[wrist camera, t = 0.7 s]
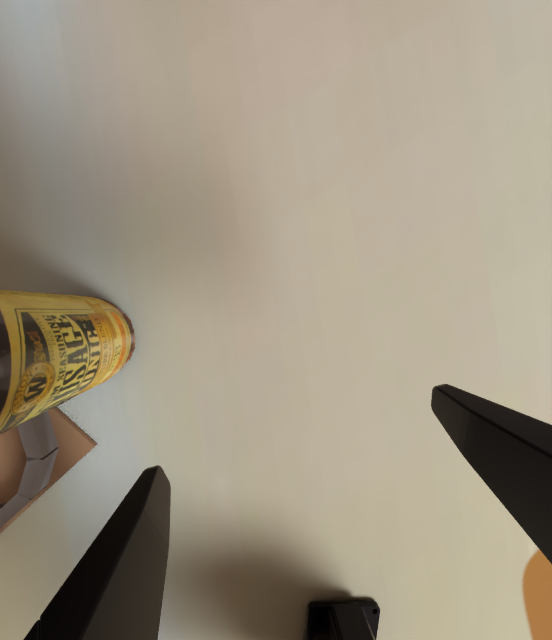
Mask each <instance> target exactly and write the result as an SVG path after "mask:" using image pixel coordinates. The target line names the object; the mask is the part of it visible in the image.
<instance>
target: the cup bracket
mask: <svg viewBox="0 0 552 640" xmlns="http://www.w3.org/2000/svg"><path fill="white" fill-rule="evenodd" d="M96 445H97V443H96V442H95V441H94V440H93V439H91V438H90V437H89V436H88V435H87V434H86V433H85V432H84V431H83V430H81V429H80V428H79V427H78V426H77V425H76V424H75V423H74V422H73V421H72V420H70V419H69V418H68V417H67V416H66V415H65V414H64V413H63V412H62V411H60V410H59V409H58V408H57V407H56V406H55V407H54V408H52V409H49V410H47V411H45V412H43V413H41V414H40V415H38V416H35V417H33V418H32V419H30V420H27V421H25V422H23V423H21V424H19V425H17V426H15V427H13V428H11V429H10V430H8V431H6V432H4V433H2V434H0V533H1V532H2V531H3V530H4V529H5V528H6V527H7V526H8V525H9V524H10V523H11V522H13V521H14V520H15V519H16V518H17V517H18V516H19V515H20V514H21V513H22V512H24V511H25V510H26V509H27V508H28V507H29V506H30V505H31V504H32V503H33V502H34V501H36V500H37V499H38V498H39V497H40V496H41V495H42V494H43V493H44V492H45V491H46V490H48V489H49V488H50V487H51V486H52V485H53V484H54V483H55V482H56V481H57V480H59V479H60V478H61V477H62V476H63V475H64V474H65V473H66V472H67V471H68V470H69V469H71V468H72V467H73V466H74V465H75V464H76V463H77V462H78V461H79V460H80V459H82V458H83V457H84V456H85V455H86V454H87V453H88V452H89V451H90V450H91V449H92V448H94V447H95V446H96Z"/></svg>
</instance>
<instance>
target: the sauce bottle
mask: <svg viewBox="0 0 552 640" xmlns="http://www.w3.org/2000/svg"><path fill="white" fill-rule="evenodd" d="M134 349H135V336H134V330H133V328H132V324H131V320H130V319H129V318H128V317H127V316H126V315H125V314H124V313H123V312H122V311H121V310H120V309H118V308H117V307H116V306H114V305H113V304H111V303H109V302H107V301H105V300H101V299H97V298H94V297H88V296H76V295H62V294H48V293H34V292H22V291H11V290H0V434H2V433H4V432H6V431H8V430H10V429H11V428H13V427H15V426H17V425H19V424H21V423H23V422H25V421H27V420H30V419H32V418H33V417H35V416H38V415H40V414H41V413H43V412H45V411H47V410H49V409H52V408H54V407H55V406H58V405H60V404H62V403H63V402H65V401H67V400H69V399H71V398H73V397H75V396H77V395H78V394H80V393H82V392H84V391H86V390H88V389H90V388H92V387H94V386H96V385H98V384H101V383H103V382H105V381H106V380H108V379H109V378H111V377H112V376H114V375H115V374H116V373H117V372H118V371H119V370H120V369H121V368H123V366H124V365H125V364H126V363H127V361H129V359H130V358H131V356H132V352H133V351H134Z"/></svg>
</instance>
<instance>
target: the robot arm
mask: <svg viewBox="0 0 552 640" xmlns="http://www.w3.org/2000/svg"><path fill="white" fill-rule="evenodd" d="M431 407H432V410H433V412H434V414H435V415H436V417H437V418H438V420H439V421H440V423H441V424H442V426H443V427H444V429H445V430H446V432H447V433H448V435H449V436H450V437H451V439H452V440H453V442H454V443H455V445H456V446H457V448H458V449H459V451H460V452H461V453H462V455H463V456H464V457H465V459H466V460H467V461H468V462H469V464H470V465H471V466H472V467H473V469H474V470H475V471H476V472H477V473H478V475H479V476H480V477H481V478H482V479H483V481H484V482H485V483H486V484H487V486H488V487H489V488H490V489H491V490H492V492H493V493H494V494H495V495H496V497H497V498H498V499H499V500H500V501H501V503H502V504H503V505H504V506H505V508H506V509H507V510H508V511H509V512H510V514H511V515H512V516H513V517H514V519H515V520H516V521H517V522H518V523H519V525H520V526H521V527H522V528H523V530H524V531H525V532H526V533H527V534H528V536H529V537H530V538H531V539H532V541H533V542H534V543H535V544H536V545H537V547H538V548H539V549H540V550H541V551H542V553H543V554H544V555H545V556H546V558H547V559H548V560H549V561H550V562H551V564H552V425H550V424H548V423H545V422H543V421H540V420H537V419H535V418H532V417H530V416H527V415H525V414H522V413H520V412H517V411H515V410H512V409H509V408H507V407H504V406H502V405H499V404H497V403H494V402H492V401H489V400H486V399H484V398H481V397H479V396H476V395H474V394H471V393H469V392H466V391H464V390H461V389H458V388H456V387H453V386H451V385H448V384H442V385H438V386H435V387H434V388H433V390H432V400H431ZM170 496H171V487H170V482H169V480H168V478H167V476H166V475H165V473H164V471H163V469H162V468H161V467H160V466H159V465H158V466H154V467H150V468H147V469H145V470H144V471H143V473H142V474H141V475H140V477H139V478H138V480H137V481H136V482H135V484H134V485H133V487H132V488H131V489H130V491H129V492H128V494H127V495H126V496H125V498H124V499H123V501H122V502H121V504H120V505H119V506H118V508H117V509H116V511H115V512H114V513H113V515H112V516H111V518H110V519H109V520H108V522H107V523H106V525H105V526H104V527H103V529H102V530H101V532H100V533H99V534H98V536H97V537H96V539H95V540H94V541H93V543H92V544H91V546H90V547H89V548H88V550H87V551H86V553H85V554H84V556H83V557H82V558H81V560H80V561H79V563H78V564H77V565H76V567H75V568H74V570H73V571H72V572H71V574H70V575H69V577H68V578H67V579H66V581H65V582H64V584H63V585H62V586H61V588H60V589H59V591H58V592H57V593H56V595H55V596H54V598H53V599H52V601H51V602H50V603H49V605H48V606H47V608H46V609H45V610H44V612H43V613H42V615H41V616H40V620H38V621H36V623H35V624H34V626H33V627H32V628H31V630H30V631H29V633H28V634H27V635H26V637H25V638H24V640H157V639H158V631H159V623H160V615H161V607H162V599H163V591H164V583H165V575H166V567H167V559H168V550H169V533H170ZM379 615H380V608H379V606H378V604H377V602H375V601H355V602H311V603H310V604H309V605H308V607H307V614H306V623H305V631H304V639H303V640H376V637H377V630H378V622H379Z"/></svg>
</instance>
